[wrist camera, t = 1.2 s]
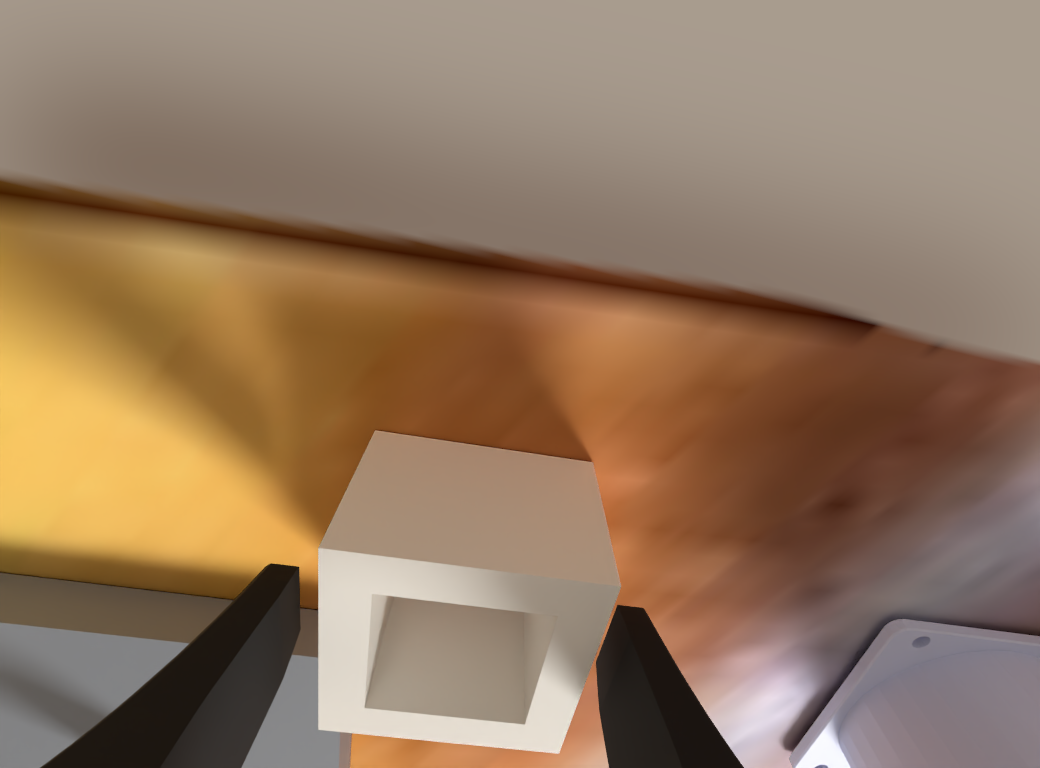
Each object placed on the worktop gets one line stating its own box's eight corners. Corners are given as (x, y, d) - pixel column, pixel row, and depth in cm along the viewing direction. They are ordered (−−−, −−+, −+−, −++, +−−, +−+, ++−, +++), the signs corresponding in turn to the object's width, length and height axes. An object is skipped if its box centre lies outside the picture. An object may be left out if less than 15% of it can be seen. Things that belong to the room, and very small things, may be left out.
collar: (593, 462, 13) (621, 586, 10) (549, 610, 16) (558, 753, 12) (375, 430, 13) (317, 548, 9) (365, 588, 15) (318, 729, 12)
